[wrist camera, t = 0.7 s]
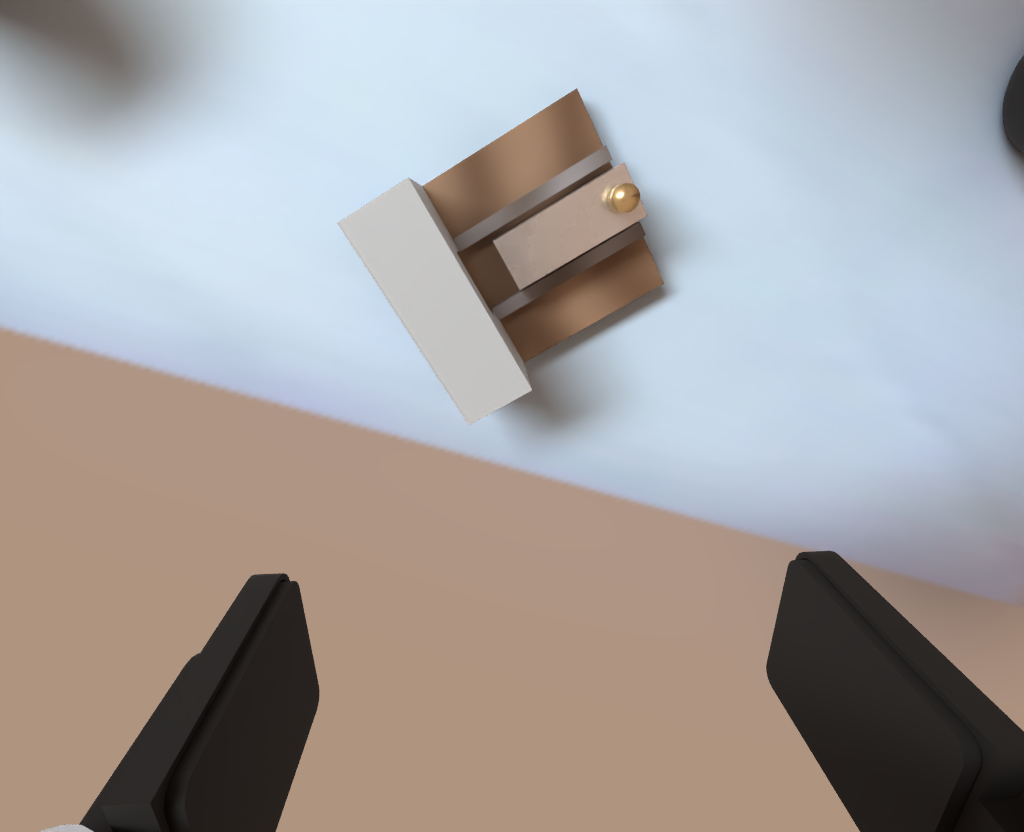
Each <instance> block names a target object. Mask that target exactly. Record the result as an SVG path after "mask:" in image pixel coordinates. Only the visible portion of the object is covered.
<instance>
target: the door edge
mask: <svg viewBox="0 0 1024 832" xmlns="http://www.w3.org/2000/svg"><path fill="white" fill-rule="evenodd" d="M337 224H338V225H339V227H340V228H341V230H342V231H343V233H344V234H345V236H346V237H347V239H348V240H349V242H350V244H351V245H352V247H353V248H354V250H355V251H356V253H357V254H358V256H359V257H360V259H361V260H362V262H363V264H364V265H365V267H366V268H367V270H368V271H369V273H370V274H371V276H372V277H373V279H374V280H375V282H376V283H377V285H378V287H379V288H380V290H381V291H382V293H383V294H384V296H385V297H386V299H387V300H388V302H389V303H390V305H391V307H392V308H393V310H394V311H395V313H396V314H397V316H398V317H399V319H400V320H401V322H402V323H403V325H404V327H405V328H406V330H407V331H408V333H409V334H410V336H411V337H412V339H413V340H414V342H415V343H416V345H417V347H418V348H419V350H420V351H421V353H422V354H423V356H424V357H425V359H426V360H427V362H428V363H429V365H430V366H431V368H432V370H433V371H434V373H435V374H436V376H437V377H438V379H439V380H440V382H441V383H442V385H443V386H444V388H445V390H446V391H447V393H448V394H449V396H450V397H451V399H452V400H453V402H454V403H455V405H456V406H457V408H458V410H459V411H460V413H461V414H462V416H463V417H464V419H465V420H466V422H467V423H468V425H471V424H473V423H474V422H476V421H478V420H480V419H482V418H483V417H485V416H487V415H489V414H491V413H492V412H494V411H496V410H498V409H500V408H501V407H503V406H505V405H507V404H509V403H510V402H512V401H514V400H516V399H518V398H519V397H521V396H523V395H525V394H527V393H528V392H530V391H532V387H531V384H530V380H529V377H528V374H527V370H526V367H525V364H524V361H523V360H522V358H521V356H520V354H519V353H518V351H517V349H516V347H515V346H514V344H513V342H512V341H511V339H510V337H509V335H508V334H507V332H506V330H505V328H504V327H503V325H502V323H501V321H500V320H499V319H498V318H497V316H496V314H495V312H494V311H493V309H491V310H490V309H489V308H488V306H487V304H486V302H485V301H484V299H483V297H482V296H481V294H480V292H479V290H478V289H477V287H476V285H475V284H474V282H473V280H472V278H471V277H470V275H469V273H468V271H467V270H466V268H465V266H464V265H463V263H462V261H461V259H460V258H459V256H458V254H457V252H458V251H459V250H458V249H457V247H456V245H455V243H454V242H453V240H452V239H453V238H452V237H451V235H450V233H449V231H448V230H447V228H446V226H445V225H444V223H443V221H442V219H441V218H440V216H439V214H438V212H437V211H436V209H435V207H434V206H433V204H432V202H431V200H430V199H429V197H428V195H427V193H426V192H425V190H424V188H423V186H421V185H419V184H418V183H416V182H415V181H413V180H411V179H410V178H407V179H405V180H404V181H402V182H401V183H399V184H397V185H396V186H394V187H393V188H391V189H390V190H388V191H386V192H385V193H383V194H382V195H380V196H379V197H377V198H375V199H374V200H372V201H371V202H369V203H368V204H366V205H365V206H363V207H361V208H360V209H358V210H357V211H355V212H354V213H352V214H350V215H349V216H347V217H346V218H344V219H343V220H341V221H339V222H338V223H337Z"/></svg>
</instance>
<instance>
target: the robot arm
mask: <svg viewBox="0 0 1024 832" xmlns="http://www.w3.org/2000/svg"><path fill="white" fill-rule="evenodd" d="M766 669H767V676H768V679H769V682H770V684H771V686H772V688H773V690H774V691H775V693H776V695H777V696H778V698H779V699H780V701H781V703H782V704H783V706H784V707H785V709H786V711H787V713H788V714H789V716H790V717H791V719H792V721H793V722H794V724H795V726H796V727H797V729H798V731H799V732H800V734H801V736H802V737H803V739H804V740H805V742H806V744H807V745H808V747H809V749H810V750H811V752H812V753H813V755H814V757H815V758H816V760H817V762H818V763H819V765H820V767H821V768H822V770H823V772H824V773H825V775H826V776H827V778H828V780H829V781H830V783H831V785H832V786H833V788H834V790H835V791H836V793H837V794H838V796H839V798H840V799H841V801H842V803H843V804H844V806H845V807H846V809H847V811H848V812H849V814H850V816H851V817H852V819H853V821H854V822H855V824H856V826H857V827H858V829H859V830H860V832H1024V732H1023V731H1022V730H1021V729H1020V728H1019V727H1018V726H1017V725H1016V724H1015V723H1014V722H1013V721H1012V720H1011V719H1010V718H1009V717H1008V716H1007V715H1006V714H1004V712H1003V711H1002V710H1000V709H999V708H998V707H997V706H996V705H995V704H994V703H993V702H992V701H991V700H990V699H989V698H988V697H987V696H986V695H985V694H984V693H983V692H982V691H980V689H978V688H977V687H976V686H975V685H974V684H973V683H972V682H971V681H970V680H969V679H968V678H967V677H966V676H965V675H964V674H963V673H962V672H961V671H960V670H958V669H957V668H956V667H955V666H954V665H953V664H952V663H951V662H950V661H949V660H948V659H947V658H946V657H945V656H944V655H943V654H942V653H941V652H940V651H939V650H938V649H937V648H936V647H934V645H932V644H931V643H930V642H929V641H928V640H927V639H926V638H925V637H924V636H923V635H922V634H921V633H920V632H919V631H918V630H917V629H916V628H915V627H914V626H913V625H912V624H910V623H909V622H908V621H907V620H906V619H905V618H904V617H903V616H902V615H901V614H900V613H899V612H898V611H897V610H896V609H895V608H894V607H893V606H892V605H891V604H890V603H888V602H887V601H886V600H885V599H884V598H883V597H882V596H881V595H880V594H879V593H878V592H877V591H876V590H875V589H874V588H873V587H872V586H871V585H870V584H869V583H867V581H865V580H864V579H863V578H862V577H861V576H860V575H859V574H858V573H857V572H856V571H855V570H854V569H853V568H852V567H851V566H850V565H849V564H848V563H847V562H846V561H845V560H844V559H842V558H841V557H840V556H839V555H838V554H837V553H835V552H832V551H816V552H802V553H799V554H798V556H797V557H796V559H795V560H793V561H791V562H790V563H789V565H788V569H787V573H786V578H785V582H784V587H783V592H782V596H781V601H780V605H779V610H778V614H777V619H776V624H775V628H774V633H773V637H772V642H771V646H770V651H769V656H768V660H767V666H766ZM318 702H319V685H318V679H317V674H316V670H315V664H314V659H313V654H312V649H311V645H310V639H309V634H308V629H307V624H306V619H305V614H304V609H303V604H302V599H301V593H300V588H299V585H298V583H297V582H296V581H290V580H289V577H288V576H287V574H261V575H260V574H259V575H253V576H251V577H250V578H249V579H248V581H247V582H246V584H245V585H244V587H243V588H242V590H241V591H240V593H239V594H238V596H237V598H236V599H235V601H234V602H233V604H232V605H231V607H230V608H229V610H228V611H227V613H226V614H225V616H224V617H223V619H222V621H221V622H220V624H219V625H218V627H217V628H216V630H215V631H214V633H213V634H212V636H211V637H210V639H209V641H208V642H207V644H206V645H205V647H204V648H203V650H202V651H201V653H199V654H197V655H195V656H194V657H192V658H191V659H190V661H188V663H187V664H186V665H185V667H184V668H183V669H182V671H181V672H180V674H179V676H178V677H177V679H176V680H175V681H174V683H173V684H172V686H171V688H170V689H169V690H168V692H167V693H166V695H165V697H164V698H163V699H162V701H161V702H160V704H159V705H158V707H157V709H156V710H155V712H154V713H153V714H152V716H151V718H150V719H149V721H148V722H147V723H146V725H145V726H144V728H143V730H142V731H141V732H140V734H139V736H138V737H137V738H136V740H135V742H134V743H133V745H132V746H131V748H130V749H129V751H128V752H127V754H126V755H125V757H124V758H123V759H122V761H121V763H120V764H119V765H118V767H117V769H116V770H115V771H114V773H113V774H112V776H111V777H110V779H109V780H108V782H107V783H106V785H105V786H104V788H103V790H102V791H101V792H100V794H99V795H98V797H97V798H96V800H95V801H94V803H93V804H92V806H91V808H90V809H89V811H88V812H87V813H86V815H85V817H84V818H83V820H82V821H81V823H80V824H79V825H66V824H64V825H61V826H57V827H53V828H49V829H45V830H42V831H40V832H275V831H276V829H277V826H278V823H279V820H280V817H281V814H282V810H283V808H284V805H285V802H286V799H287V796H288V793H289V790H290V787H291V784H292V782H293V779H294V776H295V773H296V770H297V767H298V764H299V761H300V758H301V755H302V752H303V749H304V746H305V743H306V740H307V737H308V734H309V731H310V729H311V725H312V723H313V719H314V717H315V714H316V711H317V707H318Z"/></svg>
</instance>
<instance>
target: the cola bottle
mask: <svg viewBox="0 0 1024 832" xmlns="http://www.w3.org/2000/svg"><path fill="white" fill-rule="evenodd" d="M1003 121H1004V127H1005V130H1006V133H1007V135H1008V137H1009V139H1010V141H1011V142H1012V144H1013V145H1014V146H1015V147H1016V148H1017V149H1018V150H1019V151H1020V152H1022V153H1023V154H1024V56H1023V57H1022V58H1021V60H1020V61H1019V63H1018V65H1017V66H1016V68H1015V70H1014V72H1013V74H1012V76H1011V78H1010V81H1009V83H1008V86H1007V89H1006V93H1005V97H1004V103H1003Z"/></svg>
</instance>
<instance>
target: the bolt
mask: <svg viewBox="0 0 1024 832" xmlns="http://www.w3.org/2000/svg"><path fill="white" fill-rule="evenodd" d="M646 216H647V214H646V211H645V209H644V207H643V204H642V202H641V200H640V193H639V190H638V188H637V187H636V186H635V185H634V184H633V181H632V179H631V177H630V175H629V172H628V170H627V168H626V165H625V163H622V164H619V165H617V166H615V167H613V168H611V169H609V170H608V171H606V172H604V173H603V174H601V175H599V176H598V177H596V178H594V179H593V180H591V181H590V182H588V183H586V184H585V185H583V186H581V187H580V188H578V189H576V190H575V191H573V192H571V193H570V194H568V195H566V196H565V197H563V198H561V199H560V200H558V201H556V202H555V203H553V204H552V205H550V206H548V207H547V208H545V209H543V210H542V211H540V212H538V213H537V214H535V215H533V216H532V217H530V218H528V219H527V220H525V221H523V222H522V223H520V224H518V225H517V226H515V227H514V228H512V229H510V230H509V231H507V232H505V233H504V234H502V235H500V236H499V237H497V238H495V239H494V240H492V241H493V242H494V244H495V246H496V248H497V250H498V251H499V253H500V255H501V257H502V259H503V260H504V262H505V264H506V266H507V268H508V270H509V271H510V273H511V275H512V277H513V279H514V280H515V282H516V284H517V286H518V288H519V289H520V290H521V289H523V288H524V287H526V286H528V285H530V284H531V283H533V282H535V281H536V280H538V279H540V278H542V277H543V276H545V275H547V274H548V273H550V272H552V271H553V270H555V269H557V268H559V267H560V266H562V265H564V264H565V263H567V262H569V261H571V260H572V259H574V258H576V257H577V256H579V255H581V254H582V253H584V252H586V251H588V250H589V249H591V248H593V247H594V246H596V245H598V244H600V243H601V242H603V241H605V240H606V239H608V238H610V237H611V236H613V235H615V234H617V233H618V232H620V231H622V230H623V229H625V228H627V227H629V226H630V225H632V224H634V223H635V222H637V221H639V220H640V219H642V218H644V217H646Z"/></svg>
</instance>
